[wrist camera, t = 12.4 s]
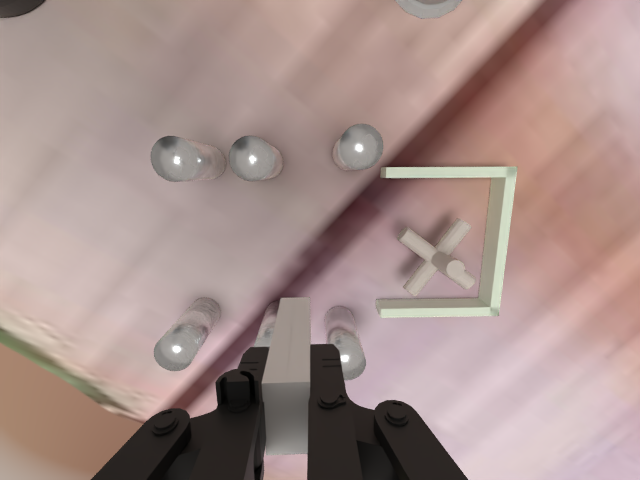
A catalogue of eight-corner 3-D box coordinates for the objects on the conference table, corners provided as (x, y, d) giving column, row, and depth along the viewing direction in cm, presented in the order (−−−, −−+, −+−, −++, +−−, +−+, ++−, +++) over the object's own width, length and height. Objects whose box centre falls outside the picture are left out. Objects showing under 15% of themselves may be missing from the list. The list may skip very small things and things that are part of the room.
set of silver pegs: (173, 136, 37) (123, 124, 27) (365, 136, 38) (384, 123, 28) (193, 335, 43) (157, 384, 33) (360, 332, 43) (374, 379, 33)
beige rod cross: (427, 300, 42) (461, 334, 32) (368, 258, 41) (385, 280, 31) (475, 241, 41) (526, 257, 31) (416, 195, 40) (449, 198, 30)
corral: (380, 167, 39) (386, 167, 36) (502, 167, 39) (517, 166, 36) (375, 307, 42) (380, 317, 40) (485, 306, 43) (498, 315, 40)
